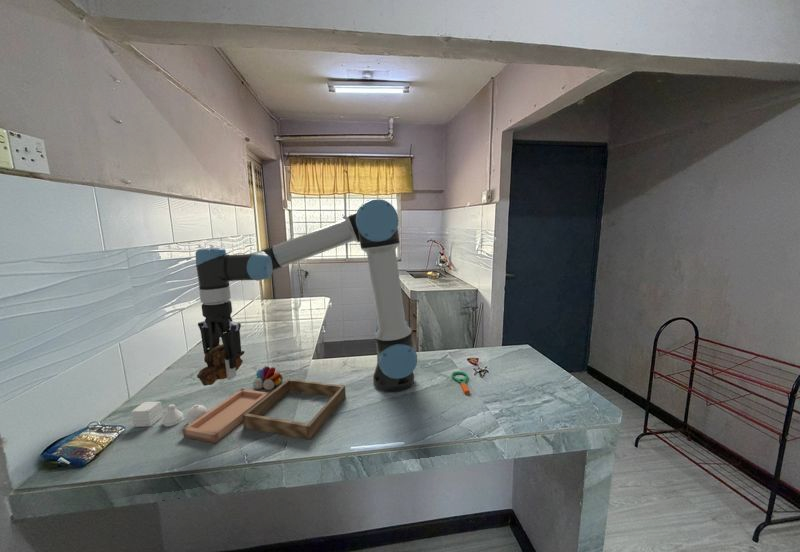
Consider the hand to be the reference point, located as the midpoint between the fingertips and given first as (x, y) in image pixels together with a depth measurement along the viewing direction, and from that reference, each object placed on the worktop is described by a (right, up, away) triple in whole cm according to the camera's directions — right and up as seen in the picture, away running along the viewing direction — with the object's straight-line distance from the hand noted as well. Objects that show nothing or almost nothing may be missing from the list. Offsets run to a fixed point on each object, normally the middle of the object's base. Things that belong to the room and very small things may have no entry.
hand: (225, 376), depth 94 cm
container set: (-16, -14, +1) cm, 21 cm away
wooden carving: (0, 0, 0) cm, 0 cm away
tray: (0, -13, +2) cm, 13 cm away
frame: (+21, -12, +4) cm, 24 cm away
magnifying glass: (+75, -9, +19) cm, 78 cm away
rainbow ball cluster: (+4, -10, +21) cm, 24 cm away
